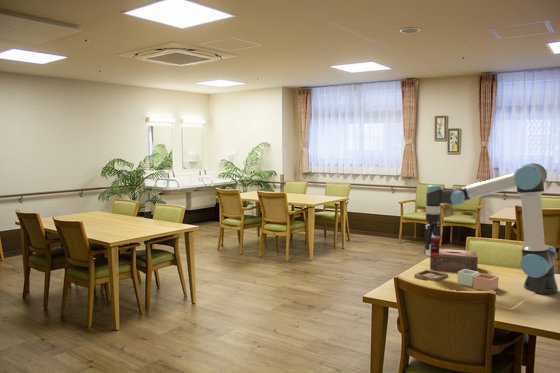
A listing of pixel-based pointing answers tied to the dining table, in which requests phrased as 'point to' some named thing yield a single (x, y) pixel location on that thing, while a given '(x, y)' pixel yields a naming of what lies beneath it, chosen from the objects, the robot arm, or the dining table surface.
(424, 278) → the tray
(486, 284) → the pot
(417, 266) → the dining table surface
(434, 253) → the canned food
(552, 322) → the dining table surface
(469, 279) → the mint green open box
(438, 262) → the tissue box cover
